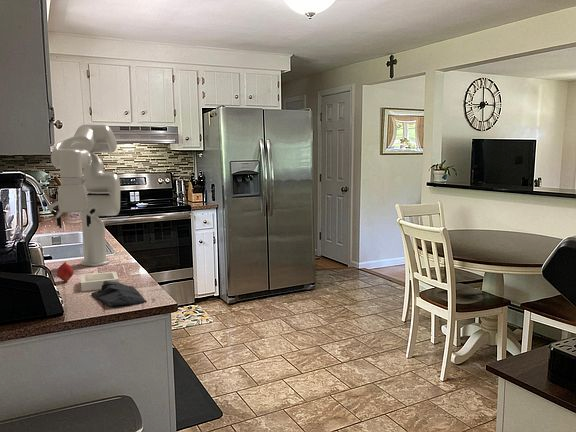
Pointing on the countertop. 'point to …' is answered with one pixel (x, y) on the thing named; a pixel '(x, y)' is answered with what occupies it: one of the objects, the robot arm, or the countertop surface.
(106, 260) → the robot arm
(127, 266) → the countertop surface
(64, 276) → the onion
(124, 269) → the countertop surface
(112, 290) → the dark grey folded cloth
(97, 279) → the dish
